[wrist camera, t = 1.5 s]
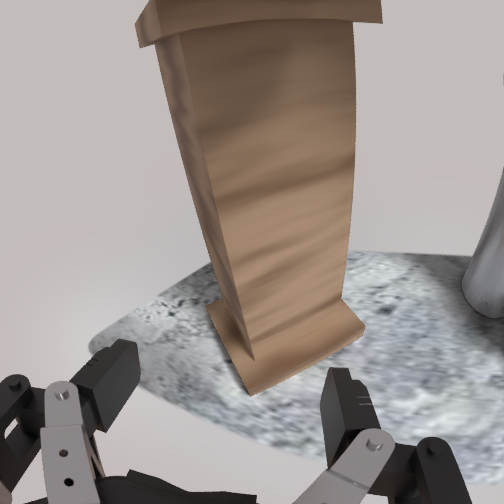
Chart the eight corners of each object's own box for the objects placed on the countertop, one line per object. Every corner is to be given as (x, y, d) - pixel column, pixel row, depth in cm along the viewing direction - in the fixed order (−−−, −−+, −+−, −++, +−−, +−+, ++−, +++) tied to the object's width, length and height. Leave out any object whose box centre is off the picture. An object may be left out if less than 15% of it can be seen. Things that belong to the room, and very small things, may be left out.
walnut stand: (362, 335, 31) (402, -18, 9) (250, 396, 28) (126, -28, 6) (306, 271, 40) (289, -6, 18) (209, 315, 36) (118, 18, 14)
